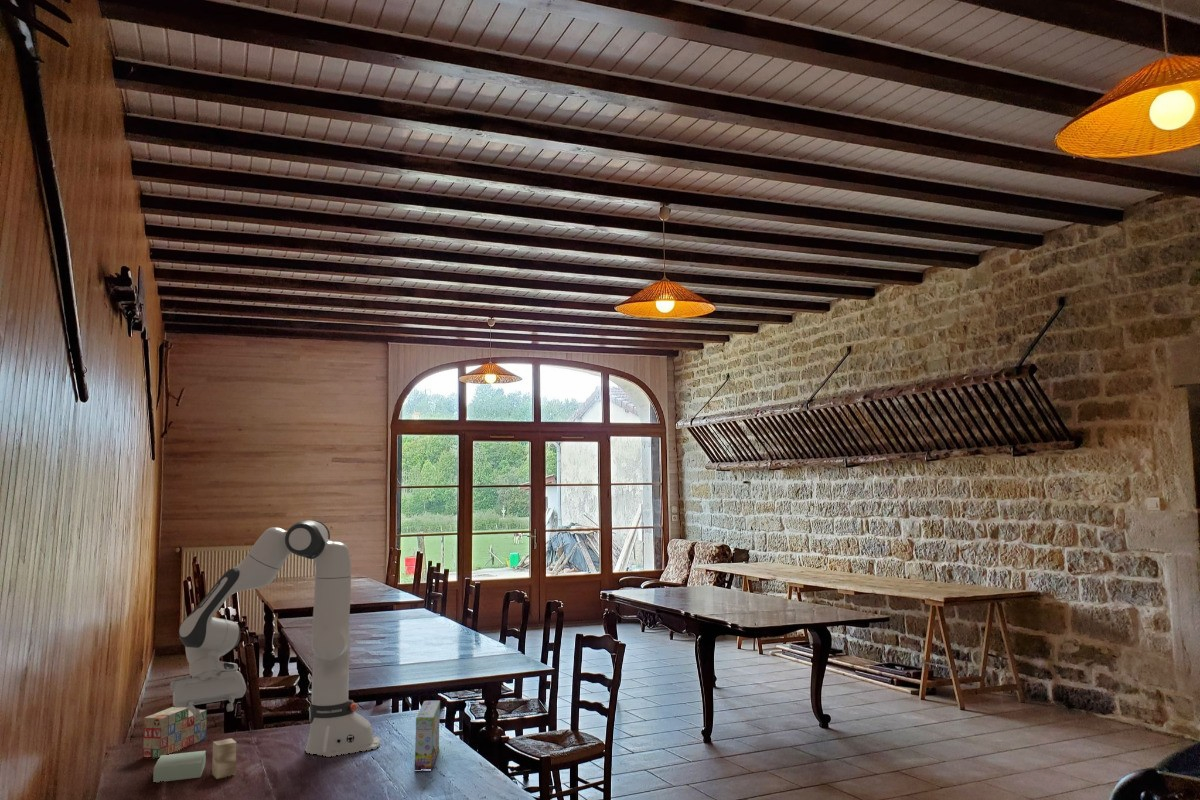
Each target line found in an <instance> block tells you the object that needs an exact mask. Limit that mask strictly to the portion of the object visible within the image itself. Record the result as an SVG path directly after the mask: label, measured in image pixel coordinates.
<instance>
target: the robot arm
mask: <svg viewBox="0 0 1200 800" xmlns="http://www.w3.org/2000/svg"><path fill="white" fill-rule="evenodd" d="M330 538H331V534H330V530H329V528H328V527H327V525H326V524H324V523H322V522H321V521H319V520H318V521H317V520H312V519H311V520H310V519H309V520H308V519H306V520H302V521H299V522H296V523H294V524H292V525H291V526H290V527H289V528H288V529H287V530H286V529H283V528H281V527H279V526H277V527H276V526H275V527H274V526H273V527H268V528H267V529H265V530H264V532H263V533H261V535H260V536H259V537H258V539H257V540H256V541H255V542H254V544H253V545H252V547H251V548H250V550H249V552H248V553H247V555H246V556H245V557H244V558H243V559H242V561H241V562H239V564H237V565H236V566H235V567H233V568H229V569H228V570H227V571H225V572H224V573H223V575H221V576H220V578H218V580H217V581H216V583H215V584H214V585H213V586H212V588H211V589H210V590H209V592H207V594H206V596H204V597H203V599H202V600H201V601H200V603H199V604H198V605H197V606H196V607H195V609H193V611H191V613H189V614H188V615H187V616H186V617H185V618H184V619H183V620H182V622H181V624H180V625H179V629H178V636H179V640H180V641H181V643H182V645H183V646H184V648H185V656H186V660H187V663H188V671H189V675H188V676H182V677H176V678H175V677H174V679H173V680H171V682H170V683H169V687H170V690H171V691H172V692H173V693H172V704H173V707H176V708H179V707H184V708H188V710H190V711H191V712H192V713H193V717H199V715H200V711H199V710H200V708H196V707H195V706H196V705H197V706H198V705H202V704H203V705H204V704H208V703H214V702H221V701H229V703H227V704H226V711H227V713H228V712H232V711H234V702H235V699H240V698H243V697H244V696H245V694H246V691H247V685H246V681H245V679H244V676H243V674H242V673H241V672H240V671H238V669H239V665H238V664H237V663H234V662H227V661H223V660H220V657H223V656H225V655H227V654H228V653H229V652H230V651H232V650H234V649H235V648H236V647H237V646H238V644H240V643H239V642H240V640H241V628H240V626H239V624H238V623H237V622H236V621H233V620H229V619H225V618H218V617H214V616H215V614H216V613H217V612H218V611H219V609H220V608H221V607H222V606H223V604H224V603H225V602H226V601H227V599H228V598H230V597H231V596H232V595H234V594H235V593H238V592H243V591H247V590H258V589H262V588H265V587H267V586H268V585H270V584H271V583H272V582H273V581H274V580H275V579H276V578H277V576H278V574H279V573H280V570H281V569H282V567H283V565H284V564H285V562H286V560H287V559H288V558H289V556H290V555H292V554H294V555H296V556H299V557H303V558H306V559H308V560H313V561H314V564H315V570H314V571H315V572H314V574H315V575H314V599H313V611H312V621H311V622H312V623H311V625H312V626H311V639H310V641H311V642H310V645H311V647H310V648H311V650H312V652H313V660H312V674H311V702H310V704H309V705H310V706H309V714H308V715H309V718H308V719H309V722H310V724H309V726H310V727H309V731H308V738H307V743H306V746H305V749H304V752H305V751H306V752H305V753H307V754H309V753H310V755H313V754H317V755H316V756H322V755H323V757H325V756H326V757H327V758H330V757H331V756H332V757H337V756H336V755H338V756H343V754H344V755H349V754H348V753H350V754H354V753H355V752H356V753H360V752H359V751H362V752H366V750H367V751H372V750H371V749H373V750H376V749H378V748H380V746H381V739H380V737H379V736H377V735H375V734H374V731H373V727H372V725H371V722H370V721H369V720H368V719H366V718H364V717H363V716H362V715H360V714H359V713H357V712H356V710H357V708H358V706H357V703H356V702H355V701H354V700H353V699H349V683H350V682H349V680H350V678H349V676H350V674H349V673H350V655H351V654H350V651H351V650H350V649H351V648H350V647H351V631H350V612H351V611H350V610H351V599H352V598H351V591H352V589H351V587H352V563H351V562H352V561H351V553H350V548H349V546H348V545H346V544H345V543H344V542H340V541H337V540H336V541H333V540H331V539H330ZM377 747H378V748H377ZM341 754H342V755H341Z"/></svg>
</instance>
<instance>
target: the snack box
mask: <svg viewBox="0 0 1200 800" xmlns="http://www.w3.org/2000/svg"><path fill="white" fill-rule="evenodd" d="M440 709H441V700H423V703H422V705H421V706H420V709H419V711H418V713H417V715H416V717H415V743H414V747H415V748H414V749H415V750H414V770H421V769H432V767H433V768H434V766H433V765H435V763H434V762H436V760H435V759H437V757H436V756H438V754H437V753H439V751H440V718H441V717H440V715H441V714H440V713H441V712H440V711H441V710H440ZM438 750H439V751H438ZM432 770H433V769H432Z"/></svg>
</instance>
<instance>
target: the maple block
mask: <svg viewBox="0 0 1200 800" xmlns="http://www.w3.org/2000/svg"><path fill="white" fill-rule="evenodd" d="M211 761H212V767H211V775H212V776H213V777H214V778H215V779H216V780H218V779H223V778H227V776H228V777H231V775H233V776H236V774H237V773H236V772H237V771H236V770H237V767H236V766H237V741H236V740H235V739H233V738H225V739H222V740H221V739H220V740H216V741H213V742H212V760H211Z"/></svg>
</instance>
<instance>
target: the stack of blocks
mask: <svg viewBox="0 0 1200 800" xmlns="http://www.w3.org/2000/svg"><path fill="white" fill-rule="evenodd" d="M199 711H200V715H199V717H193V713H192V712H191V711H190V710H188V708H187V707H179V708H176V707H175V706H171V707H169V708H166V709H164V710H161V711H158V712H156V713H153V714H150V715H147V716H145V717H144V722H143V723H144V724H143V725H144V726H143V744H142V745H143V748H142V758H143V757H160V756H161V755H166V754H169V753H172V752H175V751H177V752H179V751H181V750H183V749H185V748H184V747H186V748H188V747H190V746H192V745H195V744H197V743H199V742H201V741H204V740H206V739H207V723H208V720H207V713H208V712H207V711H208V709H199ZM205 735H206V736H205ZM189 745H190V746H189ZM187 746H188V747H187ZM182 748H183V749H182ZM180 749H181V750H180ZM178 750H179V751H178ZM175 753H176V752H175Z"/></svg>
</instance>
